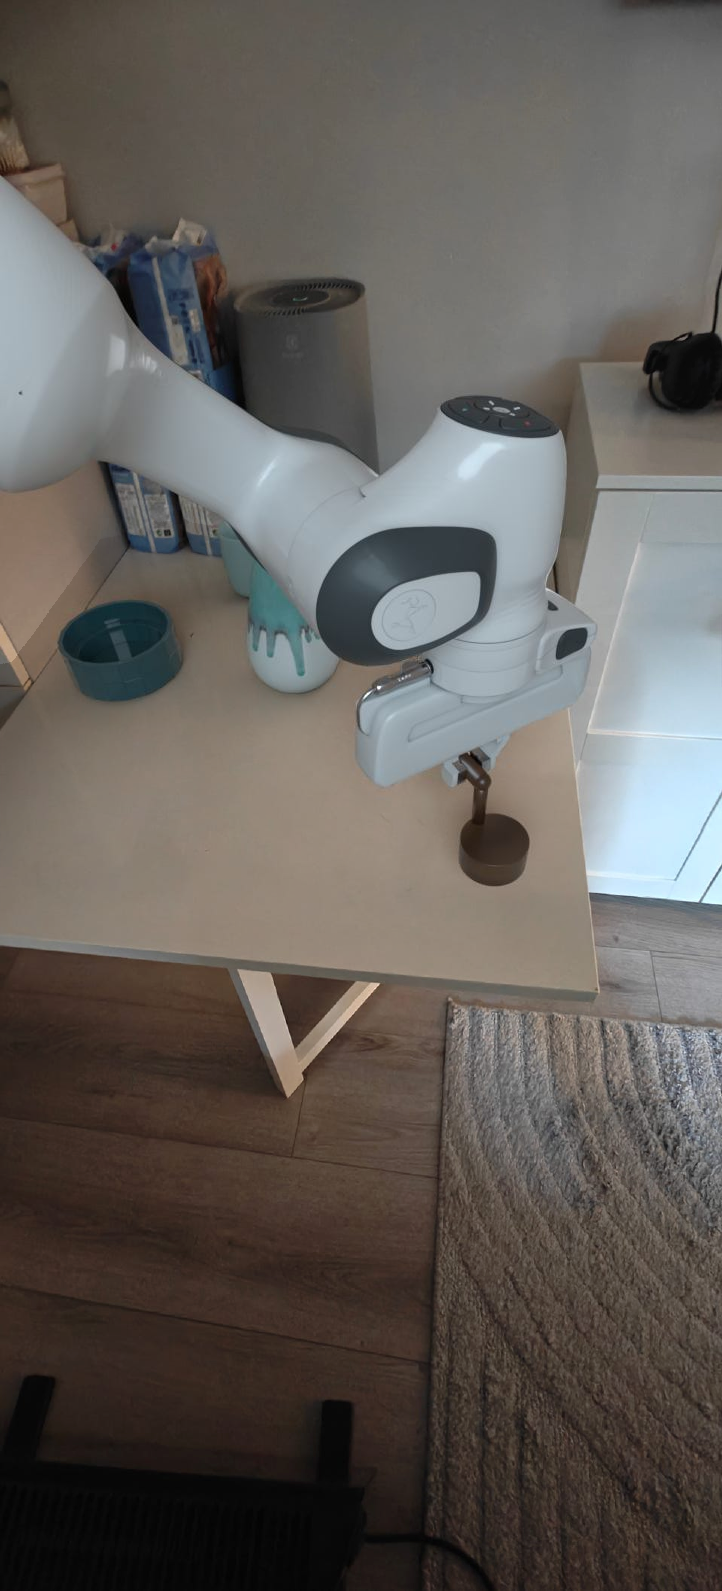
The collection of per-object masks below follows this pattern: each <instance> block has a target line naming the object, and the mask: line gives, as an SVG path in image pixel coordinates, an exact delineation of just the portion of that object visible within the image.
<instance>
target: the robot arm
mask: <svg viewBox="0 0 722 1591" xmlns="http://www.w3.org/2000/svg"><path fill="white" fill-rule="evenodd" d="M94 461H95V462H103V463H105V462H106V463H109V464H113V465H116V466H119V467H121V468H124V469H126V470H128V471H130V472H133V473H135V474H137V475H139V476H141V477H143V478H145V479H147V480H149V481H151V482H152V483H155V484H157V485H158V486H161V487H163V488H164V489H167V490H168V491H170V492H172V493H174V494H176V495H178V496H179V497H182V498H184V499H186V500H188V501H190V502H192V503H194V504H196V505H198V506H199V507H202V508H204V509H206V510H208V511H209V512H212V513H213V514H215V515H217V516H218V517H220V518H221V519H222V520H225V521H226V522H227V523H228V524H229V525H230V527H231V528H232V530H233V531H234V533H235V534H236V536H237V537H238V539H239V540H240V542H241V543H242V545H243V546H244V547H245V549H246V550H247V551H248V552H249V554H250V555H251V556H252V557H253V558H254V559H255V560H256V561H257V562H258V564H259V565H260V566H261V567H262V568H263V569H264V570H265V571H266V572H268V573H269V575H270V576H271V577H272V578H273V580H274V581H275V582H276V583H277V585H278V586H279V587H280V588H281V590H282V591H283V592H284V593H285V595H286V596H287V597H288V599H289V600H290V601H291V602H292V604H293V605H294V606H295V608H296V609H297V610H298V612H299V613H300V614H301V615H302V617H303V618H304V619H305V621H306V622H307V623H308V624H309V626H310V627H311V628H312V629H313V630H314V632H315V633H316V634H317V635H318V637H319V638H320V639H321V640H322V641H323V642H324V643H325V645H326V646H327V647H328V648H329V650H330V651H331V652H333V653H334V654H335V655H336V656H338V657H339V658H340V659H341V660H342V661H345V662H347V663H349V664H353V665H357V666H362V667H381V666H389V665H392V664H396V663H400V662H404V661H407V660H409V659H412V658H414V657H416V656H418V660H419V662H420V663H417V664H415V665H412V666H410V667H407V668H405V669H403V670H401V669H400V671H398V672H396V673H394V674H393V673H392V674H389V675H384V676H382V677H379V678H377V679H376V680H374V681H373V682H372V683H371V687H370V688H368V689H367V690H366V691H365V692H364V693H363V694H362V695H361V696H360V697H359V698H358V699H357V700H356V703H355V721H356V727H355V737H354V738H355V740H354V759H355V762H356V763H357V766H358V767H359V768H360V770H361V771H362V773H363V774H364V775H365V777H366V778H367V779H368V780H369V781H370V782H371V783H372V784H374V785H376V786H378V787H379V788H382V789H386V788H390V787H392V786H394V785H396V784H398V783H400V782H403V781H405V780H407V779H410V778H412V777H414V776H417V775H419V774H421V773H424V772H425V771H428V770H430V769H433V768H435V767H436V766H440V765H441V766H440V776H441V779H442V781H443V782H444V783H445V784H446V785H447V786H448V788H450V789H453V788H455V787H457V786H458V785H461V784H463V783H465V782H467V778H466V775H467V768H466V767H465V766H464V765H463V764H460V761H459V760H458V757H459V755H462V754H464V753H466V752H467V753H468V752H469V755H470V756H471V757H472V758H473V759H474V760H475V761H476V762H477V763H478V764H479V765H480V766H481V767H482V768H483V769H484V770H485V771H486V772H487V773H489V771H492V770H494V769H495V768H496V762H497V761H496V760H497V756H499V754H500V753H501V752H502V751H503V749H504V747H505V746H506V745H507V742H509V740H510V739H511V734H512V733H514V732H515V731H518V730H520V729H523V728H525V727H527V726H529V725H531V724H534V723H536V722H539V721H541V720H543V719H545V718H547V717H550V716H552V715H555V714H557V713H558V712H561V711H564V710H565V709H568V708H570V707H572V706H573V705H574V704H575V703H576V702H577V701H578V699H580V697H581V696H582V695H583V693H584V690H585V687H586V684H587V680H588V676H589V671H590V667H591V661H592V649H591V645H592V644H594V641H595V639H596V635H597V632H598V624H597V622H595V620H594V619H592V618H591V617H590V616H589V615H588V614H586V613H585V612H584V611H583V610H582V609H580V608H579V607H577V605H575V604H574V603H572V602H571V601H569V600H568V599H566V598H565V597H563V596H562V595H560V594H558V593H557V592H555V591H553V590H552V589H550V588H548V587H547V580H548V578H549V574H550V572H551V570H552V569H553V567H554V564H555V562H556V559H557V556H558V551H559V546H560V540H561V535H562V534H561V533H562V527H563V522H564V521H563V520H564V512H565V505H566V504H565V503H566V495H567V494H566V492H567V474H568V472H567V470H568V468H567V466H568V465H567V463H568V462H567V450H566V443H565V439H564V435H563V432H562V430H561V429H560V427H559V426H557V424H556V422H554V421H553V420H552V419H551V418H550V417H548V416H546V415H545V414H543V413H542V412H541V411H538V410H537V409H535V408H533V407H531V406H528V405H526V404H524V403H522V402H519V401H517V400H514V401H513V400H510V399H505V398H503V397H500V396H493V395H483V394H482V395H481V394H473V395H471V394H470V395H461V396H457V397H454V398H452V399H448V400H446V401H444V402H442V403H441V404H439V406H438V408H437V409H436V411H435V413H434V415H433V419H432V420H431V422H430V424H429V426H428V428H427V430H426V431H425V432H424V434H423V435H422V436H421V437H420V438H419V439H418V440H417V442H416V443H415V444H414V445H413V446H412V447H411V448H410V450H408V451H407V452H406V453H405V454H404V455H403V456H402V457H401V458H400V459H398V461H396V462H395V463H394V464H393V465H392V466H390V467H389V468H388V469H387V470H385V471H384V472H382V473H381V474H378V473H377V472H375V471H374V470H373V469H372V468H371V467H370V466H369V465H368V464H367V462H365V461H364V459H363V458H361V456H359V454H358V453H357V452H356V451H355V450H354V449H353V448H352V447H351V446H350V445H349V444H348V443H346V442H345V441H344V440H342V439H340V438H339V437H337V436H335V435H332V434H330V433H328V432H324V431H320V430H316V429H310V428H304V427H303V428H302V427H295V426H293V427H292V426H287V425H281V424H275V423H272V422H268V421H265V420H263V419H260V418H259V417H258V416H256V415H254V414H252V413H251V412H249V411H248V410H246V409H245V408H243V407H241V406H240V405H239V404H238V403H236V402H234V401H232V400H231V399H229V398H228V397H227V396H225V394H222V393H221V392H220V391H218V390H216V389H215V388H214V387H212V386H211V385H209V384H208V383H206V382H204V381H203V380H202V379H200V378H199V377H197V376H196V375H195V374H194V373H191V372H190V371H188V370H187V369H185V368H184V367H183V366H181V365H180V364H178V363H176V362H175V361H174V360H172V359H171V358H169V357H168V356H167V355H165V354H164V353H163V352H162V351H161V350H160V349H158V348H157V347H156V346H155V345H154V344H153V343H152V342H151V340H149V339H148V338H147V336H145V335H144V334H143V332H142V331H141V330H140V329H139V327H138V326H137V325H136V324H135V322H134V321H133V320H132V318H131V317H130V315H129V313H128V312H127V311H126V309H125V307H124V305H123V303H122V301H121V299H120V297H119V295H118V292H117V291H116V289H115V287H114V286H113V284H112V283H111V282H110V281H109V279H108V278H107V277H106V276H105V275H104V274H103V272H101V271H100V270H99V269H98V267H97V266H96V265H95V264H94V263H93V262H92V261H91V260H90V259H89V258H88V257H87V255H86V254H85V253H84V252H83V251H81V249H79V247H78V246H77V245H76V244H75V243H74V242H73V241H72V240H71V239H70V237H68V236H67V235H66V234H65V233H64V232H63V231H62V230H61V229H60V228H59V227H58V226H57V225H56V224H55V223H54V222H53V221H52V220H51V219H50V218H48V216H47V215H46V214H44V213H43V211H41V210H40V209H39V208H38V207H37V206H36V205H35V204H34V203H32V201H31V200H30V199H29V198H27V197H26V196H25V195H24V194H22V192H21V191H19V190H18V189H17V188H16V186H14V185H13V184H12V183H10V182H9V181H8V179H7V180H6V178H5V177H3V176H2V175H1V174H0V491H1V492H5V493H8V494H20V493H27V492H33V491H37V490H41V489H44V488H47V487H50V486H52V485H55V484H57V483H59V482H62V481H64V480H65V479H67V478H69V477H70V476H72V475H74V474H75V473H77V472H78V471H80V469H82V468H83V467H84V466H86V465H87V463H89V462H94Z"/></svg>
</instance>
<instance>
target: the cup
mask: <svg viewBox="0 0 722 1591" xmlns="http://www.w3.org/2000/svg"><path fill="white" fill-rule="evenodd" d="M216 534H217V540H218V545H219V549H220V550H219V551H220V554H221V559H222V562H223V563H222V564H223V568H224V571H225V574H226V577H227V580H228V582H229V584H230V586H231V588H232V589H233V591H234V592H235V593H236V594H237V595H239V596H241V597H244V598H248V599H249V594H250V578H251V571H252V566H253V562H254V558H253V557H252V556H251V555H250V554H249V552H248V551H247V550H246V549H245V547H244V546H243V545H242V543H241V542H240V540H239V539H238V537H237V536H236V534H235V533H234V531H233V530H232V528H231V527H230V525H229V524H228V523H227V522H226V521H225V520H224V519H222V521H221V522H220V523H219V525H218V527H217V530H216Z"/></svg>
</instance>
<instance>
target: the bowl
mask: <svg viewBox="0 0 722 1591" xmlns="http://www.w3.org/2000/svg"><path fill="white" fill-rule="evenodd" d="M57 646H58V650H59V654H60V656H61V658H62V660H63V663H64V665H65V667H66V669H67V672H68V674H69V676H70V678H71V681H72V682H73V685H74V687H75V688H76V690H78V691H79V692H80V693H81V694H82V695H84V696H86V697H89V698H91V699H93V700H96V701H103V702H104V701H105V702H119V701H128V700H132V699H136V698H140V697H143V696H146V695H149V694H152V693H153V692H156V690H158V689H161V688H163V687H164V686H165V685H167V684H168V683H169V682H170V681H171V680H172V679H173V678H174V677H175V676H176V675H177V673H178V671H179V670H180V668H181V666H182V662H183V653H182V649H181V647H180V646H181V645H180V642H179V638H178V635H177V631H176V628H175V624H174V622H173V619H172V616H171V615H170V612H169V611H168V610H167V609H166V608H165V607H163V606H162V605H160V604H158V603H155V602H152V601H149V600H143V599H142V600H141V599H132V598H131V599H121V600H113V601H109V602H106V603H102V604H97V605H95V606H93V607H90V608H88V609H86V610H84V611H82V612H80V613H79V614H77V615H76V616H75V617H73V618H72V619H70V620H69V621H68V622H67V623H66V624H65V626H64V627H63V628H62V629H61V630H60V633H59V636H58V639H57Z"/></svg>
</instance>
